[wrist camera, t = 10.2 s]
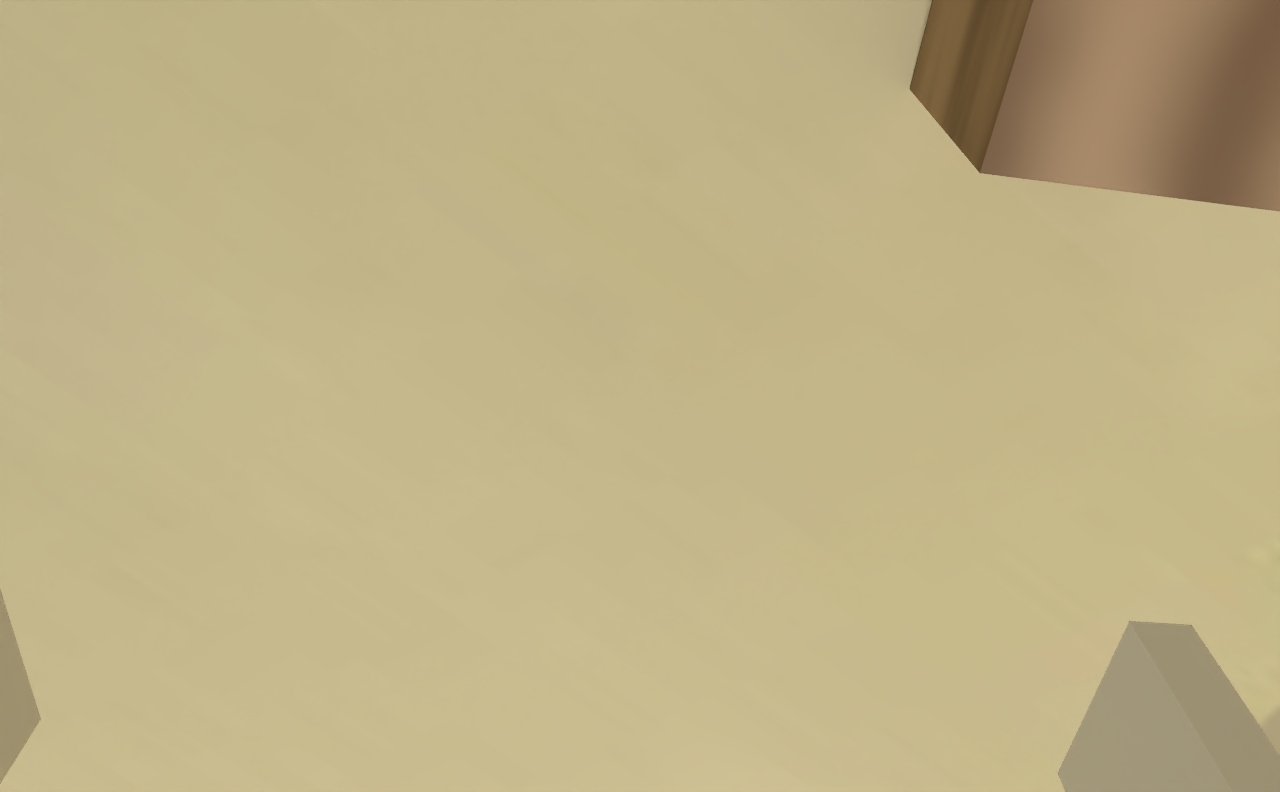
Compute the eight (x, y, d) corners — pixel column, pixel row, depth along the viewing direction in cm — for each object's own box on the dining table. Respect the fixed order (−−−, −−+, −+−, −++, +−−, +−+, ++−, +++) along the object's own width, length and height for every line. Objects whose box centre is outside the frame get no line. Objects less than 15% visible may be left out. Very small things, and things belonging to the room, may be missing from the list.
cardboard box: (909, 89, 35) (980, 172, 27) (977, -172, 31) (1082, -160, 23) (1213, 129, 36) (1365, 222, 28) (1319, -122, 31) (1533, -95, 24)
